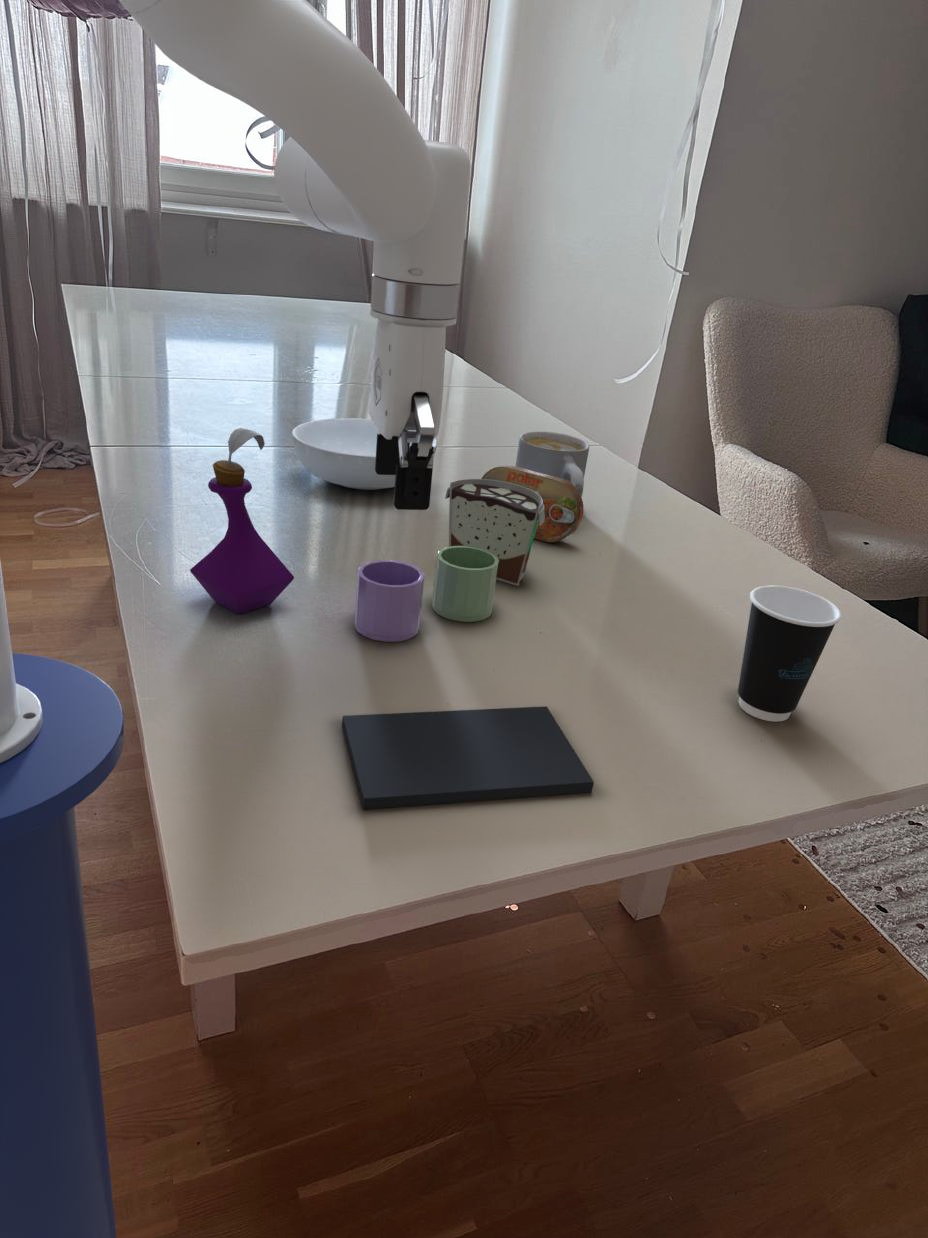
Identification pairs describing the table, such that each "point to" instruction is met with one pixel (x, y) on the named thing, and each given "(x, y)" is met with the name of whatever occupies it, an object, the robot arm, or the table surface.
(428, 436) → the robot arm
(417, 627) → the lavender cup
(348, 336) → the table surface
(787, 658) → the dixie cup
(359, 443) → the serving bowl
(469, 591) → the sage cup
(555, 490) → the tin
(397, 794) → the placemat
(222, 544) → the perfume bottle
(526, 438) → the coffee mug
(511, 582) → the food container
